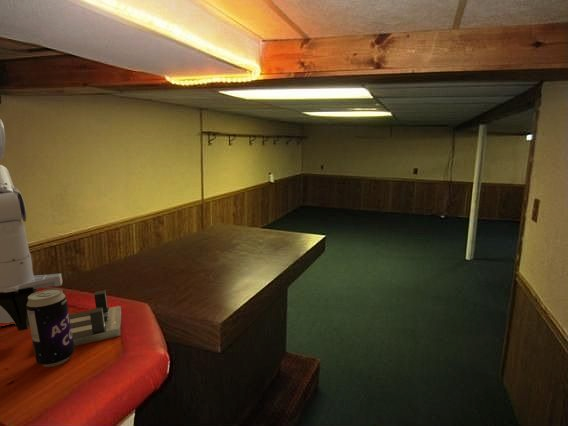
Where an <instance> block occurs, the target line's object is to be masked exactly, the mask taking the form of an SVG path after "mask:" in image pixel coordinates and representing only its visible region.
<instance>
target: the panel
mask: <svg viewBox="0 0 568 426" xmlns="http://www.w3.org/2000/svg"><path fill="white" fill-rule="evenodd" d="M93 296H94V297H93V298H94V301H95V302H94V303H95V308H92V309H89V310H86V311H81V312H76V313H75V312H74V313H69V318H70V324H71V330H72V337H73V343H74V347H75V346H79V345H84V344H89V343H93V342H99V341H103V340H109V339H111V338H116V337H120V336H121V325H122V309H121V308H122V307H121V305H117V306H112V307H111V306H110V307H109V306H108V300H107V294H106V289H104V290H97V291H95V292H94V295H93ZM33 348H34V346H33ZM33 351H34V350H33ZM34 353H35V351H34Z"/></svg>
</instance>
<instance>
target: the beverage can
mask: <svg viewBox="0 0 568 426" xmlns="http://www.w3.org/2000/svg"><path fill="white" fill-rule="evenodd" d="M26 307H27V313H28V318H29V327H30V334H31V339H32V345H33V346H34V347H33V351H35V352H34V356H35V361H36V363H37V364H39V365H42V366H43V367H46V368H49V367H56V366H59V365H61V364H64V363H65V362H67V361H68V360H70V358H71V356H72V355H73V354H74V352H75V346H74V343H73V337H72V330H71V324H70V318H69V314H70V313H69V306H68V300H67V296H66V295H65V294H64V292H63V289H61V288H47V289H43V290H39V291H36V292H35V293H33V294H31V295H30V296H29V297H28V302H27V305H26Z"/></svg>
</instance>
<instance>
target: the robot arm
mask: <svg viewBox="0 0 568 426" xmlns="http://www.w3.org/2000/svg"><path fill="white" fill-rule="evenodd" d="M6 139H7V138H6V131H5V126H4V123H3V121H2V119H1V118H0V161H1V160H3V159H4V158H5V153H6ZM22 221H23V222H22ZM24 222H25V223H26V222H27V207H26V202H25V199H24V197H23V195H22V193H21V191H20V190H19V189H18V188H17V187H15V185H14V183H13V180H12V177H11V174H10V171H9V169H8V168H7V167H6V166H5V165H2V164H0V323H10V322H14V323H15V326H16V329H17V331H18V332H20V331H26V330H28V329H29V327H30V324H29V318H28V313H27V307H26V305H27V302H28V297H29V296H30V295H31V294H33V293H35V292H37V290H38V289H43V288H49V287H61V286H62V285H63V277H62V273H60V272H59V273H52V274H40V275H37V274H36V275H34V272H33V271H34V270H33V260H32V256H31V252H30V249H29V243H28V242H29V241H28V237H27V232H26V231H27V230H26V227H25V223H24Z"/></svg>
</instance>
